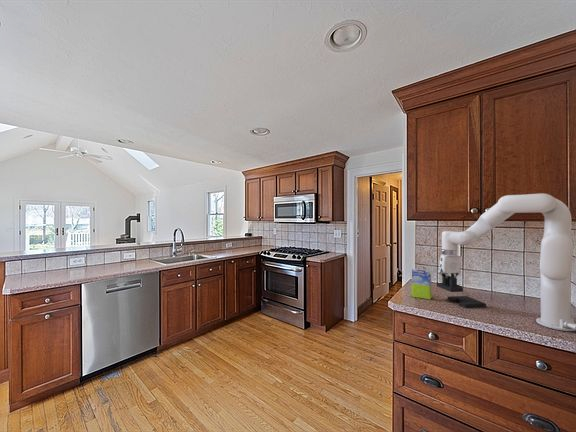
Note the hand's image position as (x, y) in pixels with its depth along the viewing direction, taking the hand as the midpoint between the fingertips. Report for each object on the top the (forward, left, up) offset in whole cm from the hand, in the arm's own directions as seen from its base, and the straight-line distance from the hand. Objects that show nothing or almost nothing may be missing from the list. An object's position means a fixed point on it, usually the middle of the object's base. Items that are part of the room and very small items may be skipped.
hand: (449, 284), depth 146 cm
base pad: (0, -10, -11) cm, 15 cm away
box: (+12, +9, -11) cm, 19 cm away
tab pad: (0, -1, -3) cm, 3 cm away
